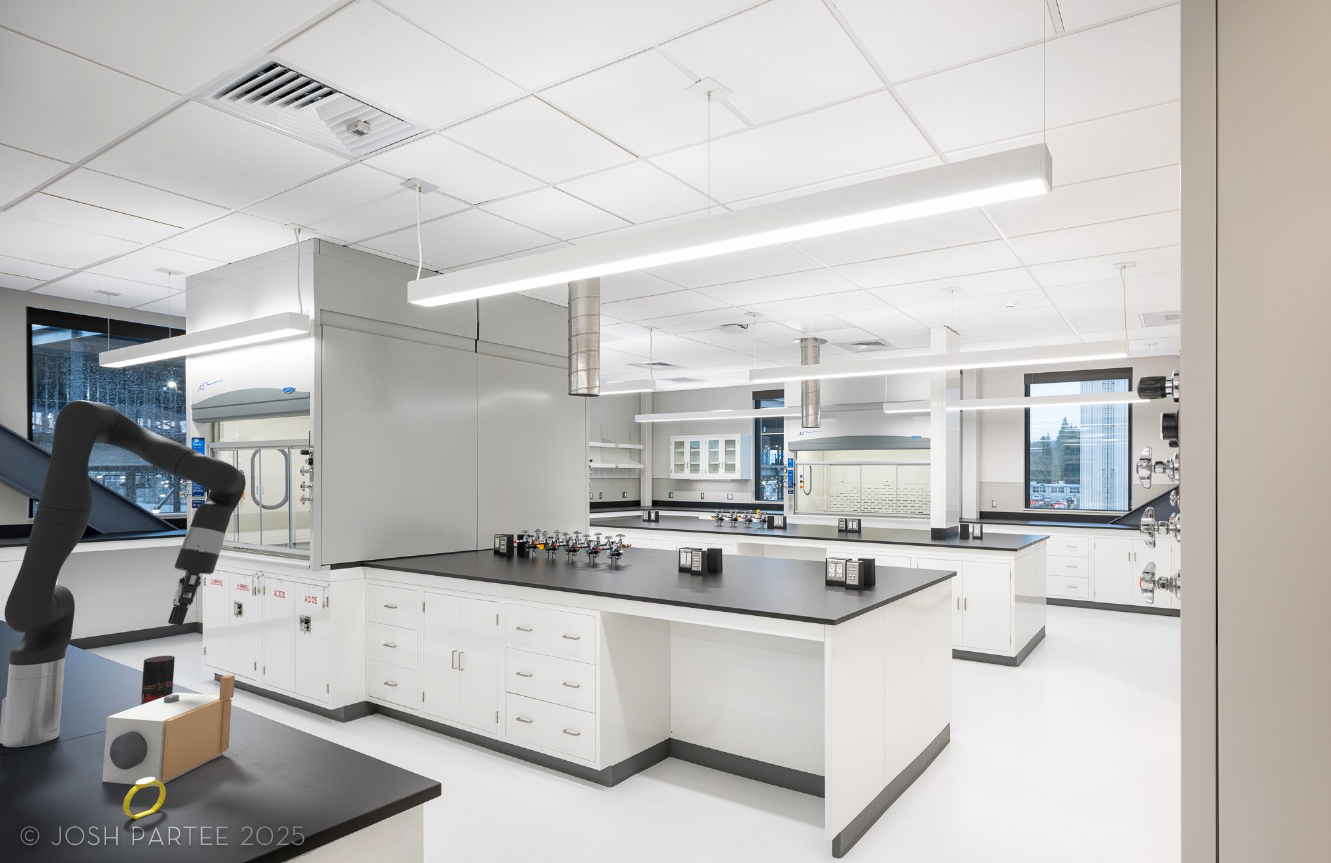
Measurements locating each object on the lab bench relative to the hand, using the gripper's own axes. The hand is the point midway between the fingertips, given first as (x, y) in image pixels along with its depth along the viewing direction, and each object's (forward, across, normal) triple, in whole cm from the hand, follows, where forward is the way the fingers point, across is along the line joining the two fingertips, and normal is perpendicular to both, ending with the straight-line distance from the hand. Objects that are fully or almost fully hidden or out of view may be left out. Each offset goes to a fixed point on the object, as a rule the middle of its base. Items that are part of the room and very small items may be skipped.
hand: (174, 624), depth 152 cm
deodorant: (+22, -24, +4) cm, 33 cm away
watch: (+32, +29, +3) cm, 43 cm away
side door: (+25, +13, +11) cm, 30 cm away
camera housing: (+27, +7, +6) cm, 29 cm away
